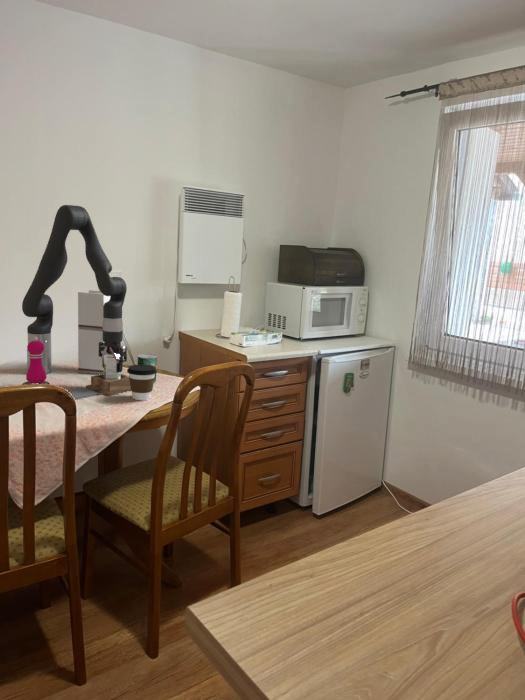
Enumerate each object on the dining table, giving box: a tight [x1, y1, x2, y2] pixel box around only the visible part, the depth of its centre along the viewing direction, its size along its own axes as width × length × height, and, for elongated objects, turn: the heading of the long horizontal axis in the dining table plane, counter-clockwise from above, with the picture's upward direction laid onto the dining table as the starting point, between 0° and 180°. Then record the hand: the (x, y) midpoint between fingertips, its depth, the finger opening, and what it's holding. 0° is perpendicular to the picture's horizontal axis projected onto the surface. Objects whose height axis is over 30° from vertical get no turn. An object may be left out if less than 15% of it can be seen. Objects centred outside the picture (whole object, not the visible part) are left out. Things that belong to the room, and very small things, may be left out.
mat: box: [67, 386, 101, 401], centre depth 201 cm, size 11×11×1 cm
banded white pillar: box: [77, 289, 111, 375], centre depth 232 cm, size 11×11×35 cm
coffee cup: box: [126, 364, 158, 401], centre depth 200 cm, size 11×11×12 cm
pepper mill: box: [25, 337, 47, 384], centre depth 204 cm, size 7×7×20 cm
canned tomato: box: [137, 353, 158, 383], centre depth 224 cm, size 8×8×11 cm
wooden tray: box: [85, 373, 132, 397], centre depth 210 cm, size 14×14×5 cm
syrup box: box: [103, 353, 122, 381], centre depth 209 cm, size 6×6×14 cm
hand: (112, 370), depth 209 cm, fingers closed on syrup box, 8 cm apart
